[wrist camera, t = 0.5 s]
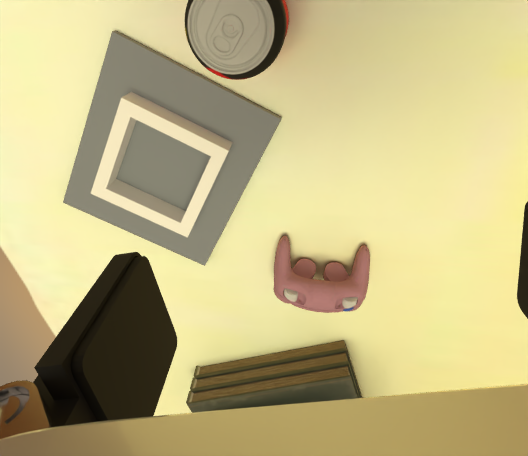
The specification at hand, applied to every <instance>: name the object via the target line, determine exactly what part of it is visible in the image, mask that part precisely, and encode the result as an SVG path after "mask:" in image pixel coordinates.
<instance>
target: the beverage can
mask: <svg viewBox="0 0 528 456" xmlns="http://www.w3.org/2000/svg"><path fill="white" fill-rule="evenodd" d="M288 21H289V16H288V9H287V5H286V2H285V0H188V3H187V7H186V12H185V31H186V36H187V40H188V43H189V45H190V48H191V50H192V52H193V53H194V55H195V56H196V58H197V59H198V60H199V62H200V63H201V64H202V65H203V66H204V67H205V68H207V69H208V70H209V71H211V72H212V73H214V74H216V75H218V76H221V77H223V78H227V79H235V80H239V79H247V78H251V77H253V76H256V75H258V74H260V73H261V72H263V71H264V70H265V69H267V68H268V67H269V66H270V65H271V64H272V63H273V61H274V60H275V59H276V57H277V56H278V54H279V52H280V50H281V48H282V45H283V42H284V39H285V36H286V33H287V29H288Z"/></svg>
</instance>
